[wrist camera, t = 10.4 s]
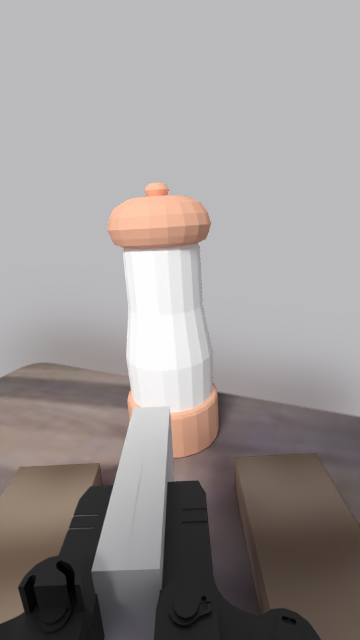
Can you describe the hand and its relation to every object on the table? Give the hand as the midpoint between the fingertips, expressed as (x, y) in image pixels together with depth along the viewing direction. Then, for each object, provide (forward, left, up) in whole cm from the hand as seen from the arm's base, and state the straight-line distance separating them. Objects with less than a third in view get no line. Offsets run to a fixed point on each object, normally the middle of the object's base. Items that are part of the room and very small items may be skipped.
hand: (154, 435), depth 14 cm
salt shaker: (+12, -2, -8) cm, 14 cm away
